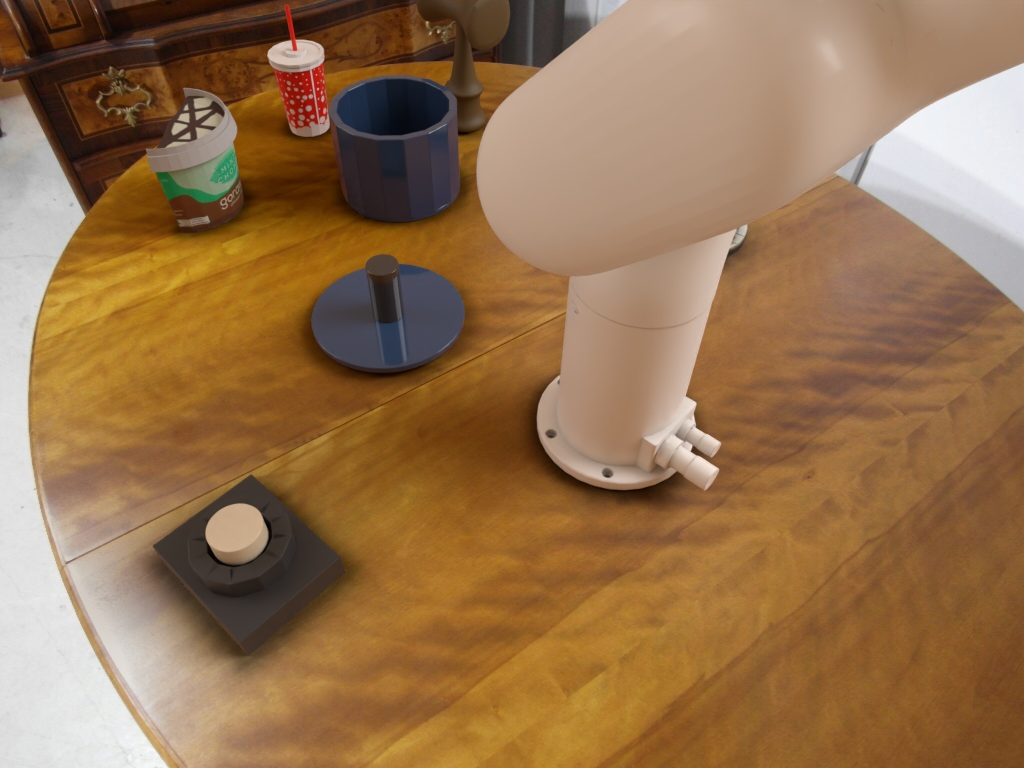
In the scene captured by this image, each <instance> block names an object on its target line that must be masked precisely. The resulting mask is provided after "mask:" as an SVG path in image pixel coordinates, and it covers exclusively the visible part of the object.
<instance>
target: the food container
mask: <svg viewBox="0 0 1024 768" xmlns="http://www.w3.org/2000/svg"><path fill="white" fill-rule="evenodd" d="M182 90H183V93H184V97H185V99H184V100H183V103H182V105H181V107H180V108H179V110H178V111H177V112H176V113H175V114H174V115H173V117H171V119H169V121H168V123H167V125H166V127H165V130H164V133H163V135H162V137H161V140H160V141H159V143H158V145H157V146H156V148H145V151H146V154H147V156H146V157H147V162H148V166H149V169H150V173H155V174H156V175H155V176H156V177H157V180H158V182H159V184H160V186H161V189H162V191H163V193H164V195H165V197H166V199H167V202H168V204H169V206H170V208H171V210H172V213H173V215H174V217H175V220H176V222H177V225H178V227H179V229H180V231H181V232H182V233H195V232H202V231H207V230H211V229H214V228H216V227H218V226H222V225H224V224H225V223H227V222H229V221H230V220H232V219H234V218H235V217H236V216H237V215H238V214H239V213H240V212H241V210H242V209H243V207H244V204H245V196H244V191H243V186H242V181H241V176H240V175H241V174H240V170H239V166H238V160H237V155H236V154H237V153H236V149H235V144H234V141H235V140H236V137H237V134H238V126H237V122H236V121H235V119H234V117H233V115H232V113H231V111H230V109H229V108H228V107H227V106H226V104H225V103H224V102H223V100H221V98H220V97H218V96H216V94H213V93H211V92H209V91H205V90H202V89H198V88H190V87H183V88H182Z"/></svg>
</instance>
